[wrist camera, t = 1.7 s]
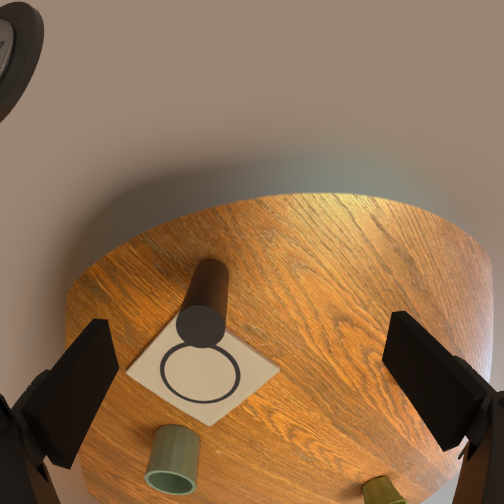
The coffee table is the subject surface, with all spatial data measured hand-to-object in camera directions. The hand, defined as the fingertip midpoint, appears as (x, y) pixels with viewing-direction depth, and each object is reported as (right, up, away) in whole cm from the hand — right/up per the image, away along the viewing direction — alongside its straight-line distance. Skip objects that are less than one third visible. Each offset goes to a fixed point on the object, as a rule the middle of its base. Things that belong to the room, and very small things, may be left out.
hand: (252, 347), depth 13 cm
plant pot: (+26, -45, +34) cm, 63 cm away
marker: (-4, +2, +20) cm, 20 cm away
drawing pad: (-6, -11, +23) cm, 26 cm away
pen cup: (-11, -25, +27) cm, 38 cm away
